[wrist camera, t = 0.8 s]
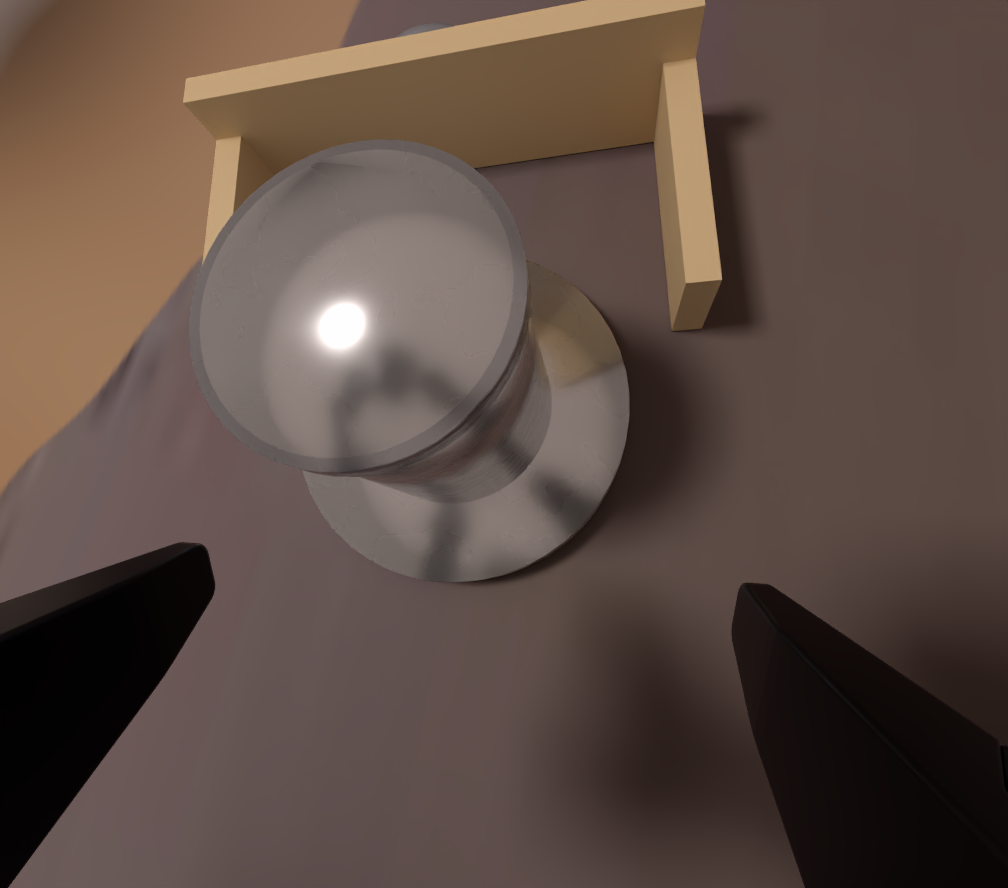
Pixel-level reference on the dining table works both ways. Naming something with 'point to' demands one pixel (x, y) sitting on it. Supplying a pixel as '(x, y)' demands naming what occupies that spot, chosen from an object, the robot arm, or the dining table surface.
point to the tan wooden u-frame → (492, 110)
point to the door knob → (410, 361)
